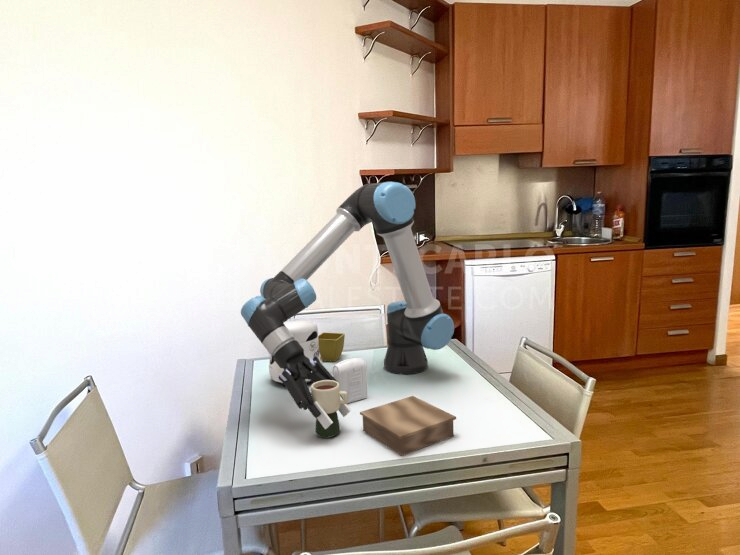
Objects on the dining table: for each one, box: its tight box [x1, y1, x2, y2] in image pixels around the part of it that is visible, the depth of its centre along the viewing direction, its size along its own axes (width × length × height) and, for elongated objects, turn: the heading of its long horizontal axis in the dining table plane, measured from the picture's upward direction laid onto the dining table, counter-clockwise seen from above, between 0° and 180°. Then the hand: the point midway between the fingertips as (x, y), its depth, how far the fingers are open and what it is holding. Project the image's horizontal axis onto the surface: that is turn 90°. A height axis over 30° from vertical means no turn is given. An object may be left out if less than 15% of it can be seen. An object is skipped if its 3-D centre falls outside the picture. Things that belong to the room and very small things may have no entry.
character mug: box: [310, 380, 349, 438], centre depth 130 cm, size 11×7×13 cm, turn 85°
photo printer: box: [332, 357, 368, 404], centre depth 151 cm, size 10×4×12 cm, turn 123°
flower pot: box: [318, 332, 346, 362], centre depth 189 cm, size 9×9×9 cm
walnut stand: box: [359, 395, 457, 456], centre depth 129 cm, size 17×17×5 cm
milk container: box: [268, 320, 324, 386], centre depth 169 cm, size 17×17×18 cm
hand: (338, 419), depth 128 cm, fingers closed on character mug, 7 cm apart
